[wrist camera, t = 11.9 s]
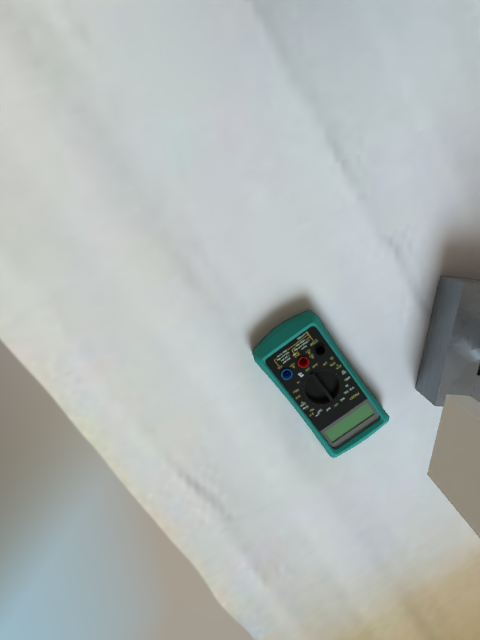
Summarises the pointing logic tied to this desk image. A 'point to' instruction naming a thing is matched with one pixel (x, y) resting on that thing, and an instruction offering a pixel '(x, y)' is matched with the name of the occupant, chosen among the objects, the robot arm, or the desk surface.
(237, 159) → the desk surface
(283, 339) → the digital multimeter
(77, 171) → the desk surface
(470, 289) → the block
